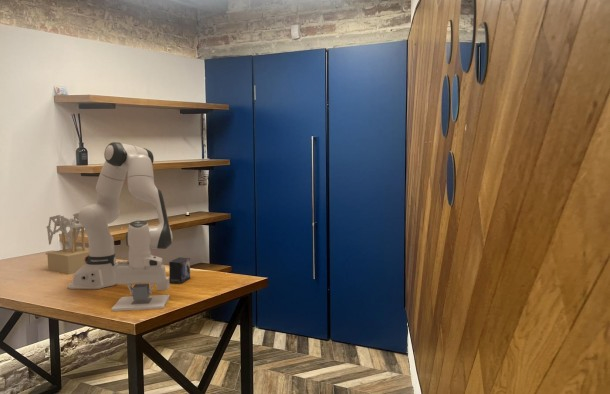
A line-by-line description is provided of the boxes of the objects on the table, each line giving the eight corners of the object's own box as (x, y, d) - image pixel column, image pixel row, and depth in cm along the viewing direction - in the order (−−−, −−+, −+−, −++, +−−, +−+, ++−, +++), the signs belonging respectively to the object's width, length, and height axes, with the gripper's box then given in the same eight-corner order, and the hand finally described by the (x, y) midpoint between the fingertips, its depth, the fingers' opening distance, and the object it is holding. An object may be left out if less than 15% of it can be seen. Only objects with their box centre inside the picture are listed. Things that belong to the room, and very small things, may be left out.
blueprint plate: (111, 311, 194) (111, 308, 194) (121, 299, 210) (121, 296, 210) (163, 308, 196) (163, 305, 196) (169, 296, 212) (169, 294, 212)
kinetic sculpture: (104, 267, 269) (101, 213, 266) (70, 275, 252) (67, 217, 249) (77, 262, 282) (74, 210, 279) (43, 270, 265) (39, 214, 262)
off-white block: (156, 290, 223) (156, 279, 222) (158, 287, 228) (158, 277, 227) (167, 290, 223) (167, 279, 223) (169, 287, 228) (169, 276, 228)
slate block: (133, 299, 200) (132, 287, 199) (136, 295, 205) (135, 284, 205) (147, 299, 201) (146, 287, 200) (149, 295, 206) (149, 283, 206)
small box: (181, 284, 233) (180, 262, 232) (169, 283, 235) (168, 261, 234) (191, 278, 244) (190, 257, 243) (179, 277, 245) (178, 257, 244)
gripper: (111, 263, 197) (113, 297, 199) (163, 261, 200) (165, 294, 201) (115, 259, 203) (117, 292, 205) (166, 258, 206) (167, 290, 207)
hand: (141, 293), depth 203 cm, fingers closed on slate block, 5 cm apart
